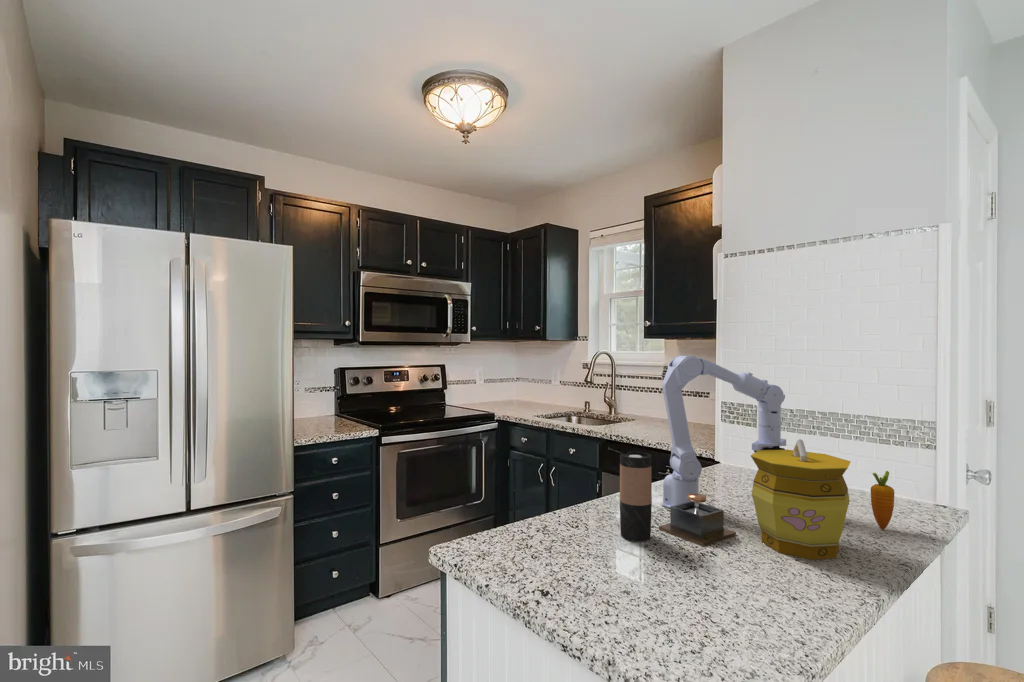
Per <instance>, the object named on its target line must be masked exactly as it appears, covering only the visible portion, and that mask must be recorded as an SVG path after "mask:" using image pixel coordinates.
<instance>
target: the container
mask: <svg viewBox="0 0 1024 682" xmlns="http://www.w3.org/2000/svg"><path fill="white" fill-rule="evenodd" d="M750 457H751V459H752V461H753V462H754V464H755V465H756V467H757V472H756V474H755V476H754V479H753V482H752V488H751V489H752V490H751V496H752V499H753V504H754V510H755V514H756V520H757V523H758V526H759V529H760V532H761V543H762V544H763V543H764V545H765V546H767V547H768V548H770V549H771V548H772V550H773V551H774V552H776V553H778V554H781V555H785V556H790V557H794V558H798V559H802V558H803V560H807V561H823V560H824V561H826V560H837V558H838V555H839V552H840V539H841V537H842V534H843V530H844V527H845V521H846V516H847V513H848V510H849V505H850V502H851V501H850V494H849V487H848V485H847V483H846V480H845V478H844V476H843V475H844V474H845V473H846V471H847V470H848V468H849V466H850V464H851V460H847V459H845V458H840V457H837V456H833V455H830V454H826V453H821V452H813V451H812V452H811V451H807V450H806V447H805V443H804V441H803V439H800V438H799V439H797V440H796V442H795V445H794V447H793V450H792V449H785V450H758V451H756V452H753V453H752V454H751V455H750Z"/></svg>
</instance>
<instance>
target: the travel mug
mask: <svg viewBox="0 0 1024 682" xmlns="http://www.w3.org/2000/svg"><path fill="white" fill-rule="evenodd" d="M652 482H653V481H652V455H651V454H650V453H647V452H644V451H643V452H642V451H628V452H627V453H625V454H624V453H622V452H621V453H620V455H619V519H620V520H619V522H620V524H619V525H620V529H619V530H620V536H621V537H622V538H623V539H625V540H627V541H631V542H637V543H638V542H640V543H641V542H648V541H649V540H651V536H652V533H651V532H652V510H653V509H652V507H653V506H652V505H653V503H652V502H653V501H652V500H653V499H652V498H653V497H652V496H653V495H652V492H653V487H652Z"/></svg>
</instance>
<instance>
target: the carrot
mask: <svg viewBox="0 0 1024 682" xmlns="http://www.w3.org/2000/svg"><path fill="white" fill-rule="evenodd" d="M872 475H873V477H874V478H875V480H876V482H877V483H876V484H873V485H872V486H871V487H870V504H871V509H872V510H871V511H872V514H873V518H874V519H875V521H876V523H877V525H878V527H879V528H880V529H881V531H885V529H887V527H888V525H889V524H890V522H891V519H892V517H893V512H894V507H895V489H894V488H893V487H891V486H890V485H887V482H888V480H889V476H890V471H888V470H886V471H885V473H884V474H883V476H882V477H881V476H880V477H879V475H878V474H877V473H876V472H872Z"/></svg>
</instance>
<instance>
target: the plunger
mask: <svg viewBox="0 0 1024 682" xmlns="http://www.w3.org/2000/svg"><path fill="white" fill-rule="evenodd" d="M688 500H690V501H693V502H695V508H691V509H687V510H685V511H688V512H691V513H694V514H697V515H700V516H701V515H704V514H708V513H709V512H706V511H703V510H700V509H699V503H705V502H706V501H707V495H705V494H702V493H689V494H688Z"/></svg>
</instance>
